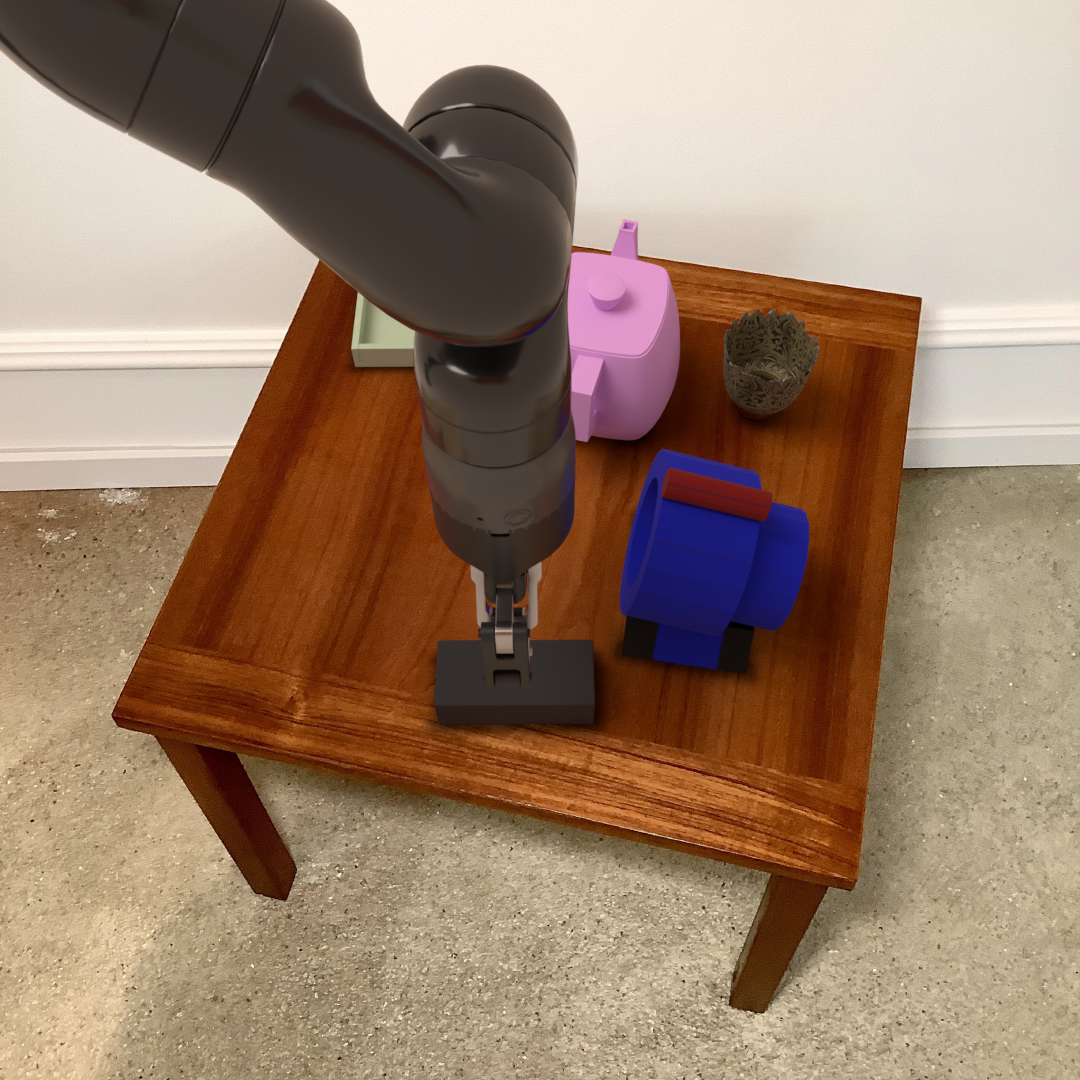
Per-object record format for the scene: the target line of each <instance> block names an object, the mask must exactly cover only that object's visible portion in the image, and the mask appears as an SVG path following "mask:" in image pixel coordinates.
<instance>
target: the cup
mask: <svg viewBox="0 0 1080 1080" xmlns="http://www.w3.org/2000/svg"><path fill="white" fill-rule="evenodd" d="M820 351H821V348H820V347H819V338H818V336H817V335H815V336H812V337H811V336H810V334H809V333H807V332H806V322H805V321H804V320H800V321H798V319H797V316H796V314H795V313H794V312H792V311H791V312H789V311H788V312H785V313H783V314H781V315H778V312H777V310H776V308H772V309H771V310H770V311H768V313H767V315H766V316H765V315H764V313H763V312H762V311H760V310H759V309H755V310H754V311H753V313H749V312H748V311H745V313H743V314H742V316H741V317H740V319H739V322H738V319H737V318H734V319H733V321H732V322H731V325H730V329H726V330H724V335H723V361H722V370H723V371H722V374H723V376H722V377H723V383H724V387H725V390H726V392H727V395H728V396H729V398H730V399H731V401H732V402H733V403H734V404H735V405H736V409H737V410H738V411H739V413H740V414H741V415H742V416H744V417H745V418H747V419H750V420H753V421H763V420H767V419H769V418H770V417H772V416H774V415H775V413H776V414H777V413H778V412H781V411H783V410H786V408H788V407H789V406H790V405H792V403H793V402H794V401H796V399H797V398H798V396H799V395H800V393H801V392H802V390H803V389H804V387H805V385H806V383H807V381H808V379H809V377H810V376H811V373H812V371H813V368H814V367H815V365H816V363H817V361H818V359H819V356H820V353H821V352H820Z"/></svg>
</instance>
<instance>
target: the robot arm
mask: <svg viewBox="0 0 1080 1080" xmlns="http://www.w3.org/2000/svg"><path fill="white" fill-rule="evenodd" d="M0 52H1V53H3V55H5V56H6V57H7V58H8V59H9V60H10V61H11V62H13V63H14V64H15V65H16V66H17V67H18V68H19V69H20V70H22V71H23V72H24V73H25V74H27V75H28V76H29V77H31V78H32V79H33V80H35V81H36V82H37V83H38V84H40V85H41V86H42V87H44V88H46V89H47V90H48V91H50V92H51V93H53V94H54V95H56V96H57V97H58V98H60V99H61V100H63V101H64V102H66V103H68V104H69V105H70V106H72V107H74V108H76V109H78V110H79V111H81V112H82V113H85V114H86V115H88V116H90V117H91V118H93V119H95V120H97V121H99V122H101V123H102V124H104V125H106V126H109V127H110V128H112V129H114V130H116V131H118V132H120V133H122V134H124V135H126V134H127V135H128V137H130V138H132V139H134V140H136V141H138V142H140V143H142V144H144V145H146V146H148V147H149V148H151V149H153V150H156V151H157V152H159V153H162V154H163V155H165V156H168V157H170V158H171V159H174V160H175V161H177V162H179V163H181V164H183V165H185V166H187V167H189V168H191V169H193V170H195V171H197V172H199V173H205V175H206V176H207V177H209V178H211V179H213V180H215V181H217V182H219V183H221V184H223V185H226V186H228V187H230V188H232V189H234V190H235V191H237V192H239V193H241V194H242V195H243V196H245V197H246V198H248V199H249V200H250V201H252V203H253V204H255V205H256V206H257V207H258V208H259V209H260V210H262V211H263V212H264V214H266V215H267V216H268V217H269V218H270V219H272V220H273V221H274V222H275V224H277V225H278V227H280V228H281V229H282V230H283V231H285V232H286V233H287V234H288V235H289V236H290V237H291V238H292V239H293V240H295V241H296V242H297V243H298V244H300V245H301V246H302V247H304V248H305V249H306V250H307V251H308V252H309V253H310V254H312V255H313V256H315V257H316V258H317V259H318V260H319V261H320V262H321V263H323V264H324V265H325V266H326V267H328V269H330V270H331V271H332V272H334V273H335V274H336V275H337V276H338V277H340V278H341V279H342V280H343V281H344V282H345V283H347V285H349V286H350V287H351V288H353V289H354V290H355V291H356V292H357V293H358V292H359V293H360V294H361V295H362V296H363V297H365V298H366V299H367V300H368V301H370V302H371V303H372V304H373V305H375V306H376V307H377V308H379V309H380V310H381V311H383V312H384V313H385V314H387V315H388V316H390V317H391V318H393V319H395V320H396V321H398V322H400V323H401V324H403V325H405V326H406V327H408V328H410V329H412V330H414V331H415V335H414V350H413V363H414V367H413V371H414V380H415V386H416V392H417V398H418V403H419V410H420V414H421V421H422V422H421V450H422V457H423V462H424V466H425V467H424V468H425V473H426V474H425V475H426V479H427V485H428V490H429V495H430V496H429V497H430V501H431V507H432V512H433V518H434V523H435V527H436V531H437V533H438V536H439V537H440V539H441V540H442V542H443V544H444V545H445V546H446V548H447V549H448V550H449V551H450V552H451V553H452V554H453V555H455V557H457V558H459V560H461V561H462V562H464V563H466V564H468V565H470V579H471V580H472V582H473V583H474V584H475V598H476V599H475V603H476V623H477V625H478V626H479V628H478V630H477V638H478V639H480V640H481V647H482V656H483V664H484V674H483V679H484V681H486V687H495V686H521V687H529V686H530V680H531V681H532V672H530V666H529V662H530V656H532V647H531V648H530V640H531V630H532V629H534V628H535V627H537V626H538V623H539V597H538V596H539V588H538V584H539V583H540V581H541V580H542V576H543V570H542V569H543V561H545V560H546V559H548V558H549V557H551V556H552V555H553V554H555V553H556V552H557V551H558V550H559V548H560V547H562V545H563V543H564V542H565V541H566V539H567V538H568V536H569V534H570V532H571V529H572V526H573V523H574V519H575V505H576V504H575V503H576V502H575V499H576V498H575V497H576V461H577V460H576V459H577V457H576V455H577V440H576V434H575V426H574V420H573V415H572V411H571V393H572V359H571V349H570V339H569V327H568V288H569V278H570V268H571V256H572V253H573V243H574V232H575V217H576V206H577V205H576V202H577V192H578V191H577V190H578V189H577V188H578V179H579V178H578V175H579V157H578V156H579V155H578V149H577V144H576V139H575V137H574V133H573V130H572V128H571V127H572V126H571V125H570V123H569V120H568V119H567V117H566V115H565V113H564V112H563V109H561V106H560V105H559V103H557V101H556V100H555V99H554V98H553V97H552V96H551V95H550V93H548V91H547V90H546V89H545V88H544V87H542V86H541V85H540V84H539V83H537V82H536V81H535V80H533V79H532V78H530V77H529V76H526V74H523V73H521V72H519V71H517V70H514V69H512V68H508V67H504V66H500V65H493V64H475V65H467V66H464V67H460V68H458V69H455V70H452V71H450V72H448V73H446V74H444V75H442V76H441V77H439V78H438V79H436V80H435V81H434V82H432V83H431V84H430V85H429V86H428V87H427V88H426V89H425V90H424V91H423V92H422V93H421V94H420V95H419V96H418V98H417V99H416V100H415V101H414V103H413V104H412V106H411V108H410V109H409V111H408V113H407V115H406V116H405V119H404V121H403V123H402V125H401V124H400V123H399V122H398V121H396V119H395V118H394V117H392V116H391V115H390V114H389V113H388V112H387V111H386V109H384V108H383V107H382V106H381V105H380V104H379V102H378V101H377V100H376V98H375V96H374V94H373V93H372V90H371V89H370V87H369V83H368V79H367V76H366V69H365V62H364V55H363V49H362V44H361V41H360V37H359V34H358V32H357V30H356V28H355V26H354V25H353V23H352V22H351V21H350V19H348V17H347V16H346V15H345V14H344V13H343V12H342V11H341V10H340V9H338V8H337V7H336V6H335V5H333V4H332V3H331V2H330V1H328V0H0ZM527 589H528V590H527ZM527 591H528V593H527ZM527 594H528V595H527ZM526 596H528V602H527V604H526V605H524V606H522V607H521V606H520V607H515V605H518V604H520V603H521V602H523V600H524V599H525V598H526ZM488 602H489V603H491V604H493V605H495V606H491V605H490V604H489V603H488Z"/></svg>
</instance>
